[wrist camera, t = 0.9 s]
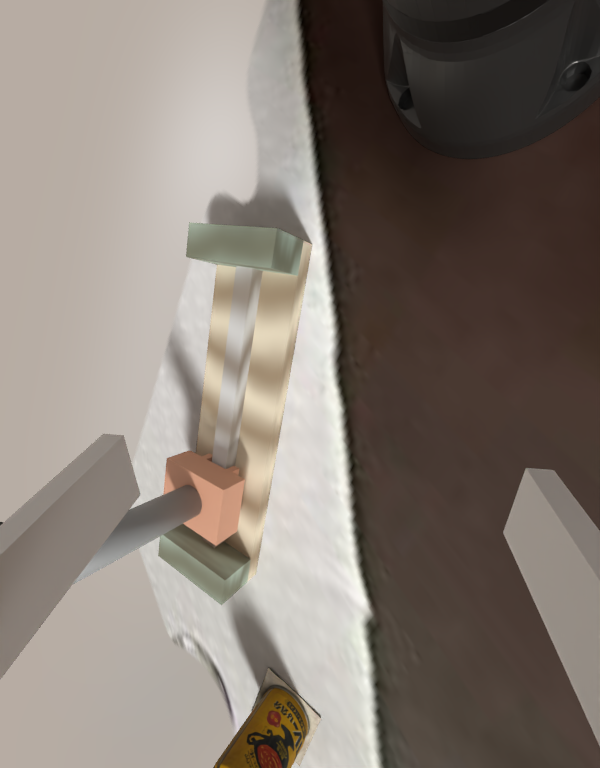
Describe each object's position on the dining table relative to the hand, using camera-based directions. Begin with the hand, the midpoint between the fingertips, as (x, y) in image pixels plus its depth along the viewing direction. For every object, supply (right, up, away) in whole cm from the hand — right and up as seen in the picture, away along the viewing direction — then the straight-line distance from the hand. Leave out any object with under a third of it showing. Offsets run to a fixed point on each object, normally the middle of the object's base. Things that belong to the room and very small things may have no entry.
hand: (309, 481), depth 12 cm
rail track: (-6, 0, +26) cm, 27 cm away
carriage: (-9, -8, +27) cm, 29 cm away
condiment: (-2, -35, +29) cm, 45 cm away
